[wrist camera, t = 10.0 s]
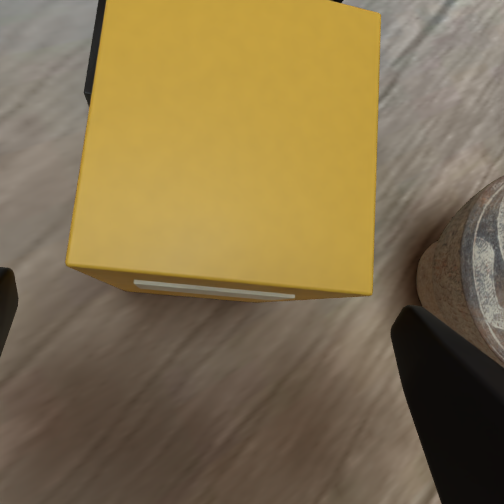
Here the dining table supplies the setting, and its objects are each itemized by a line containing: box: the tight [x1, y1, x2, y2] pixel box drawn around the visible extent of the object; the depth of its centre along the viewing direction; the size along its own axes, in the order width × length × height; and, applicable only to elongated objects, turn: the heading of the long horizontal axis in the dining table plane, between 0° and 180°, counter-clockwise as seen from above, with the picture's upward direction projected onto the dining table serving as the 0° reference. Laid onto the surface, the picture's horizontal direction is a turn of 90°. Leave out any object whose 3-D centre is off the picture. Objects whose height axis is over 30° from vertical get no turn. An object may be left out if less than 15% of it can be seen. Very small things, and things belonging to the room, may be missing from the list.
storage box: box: [65, 0, 381, 302], centre depth 15 cm, size 8×7×12 cm
